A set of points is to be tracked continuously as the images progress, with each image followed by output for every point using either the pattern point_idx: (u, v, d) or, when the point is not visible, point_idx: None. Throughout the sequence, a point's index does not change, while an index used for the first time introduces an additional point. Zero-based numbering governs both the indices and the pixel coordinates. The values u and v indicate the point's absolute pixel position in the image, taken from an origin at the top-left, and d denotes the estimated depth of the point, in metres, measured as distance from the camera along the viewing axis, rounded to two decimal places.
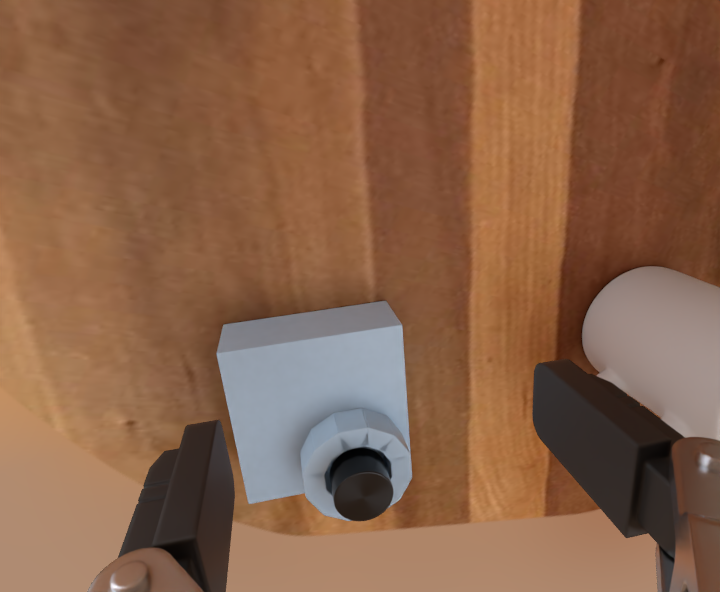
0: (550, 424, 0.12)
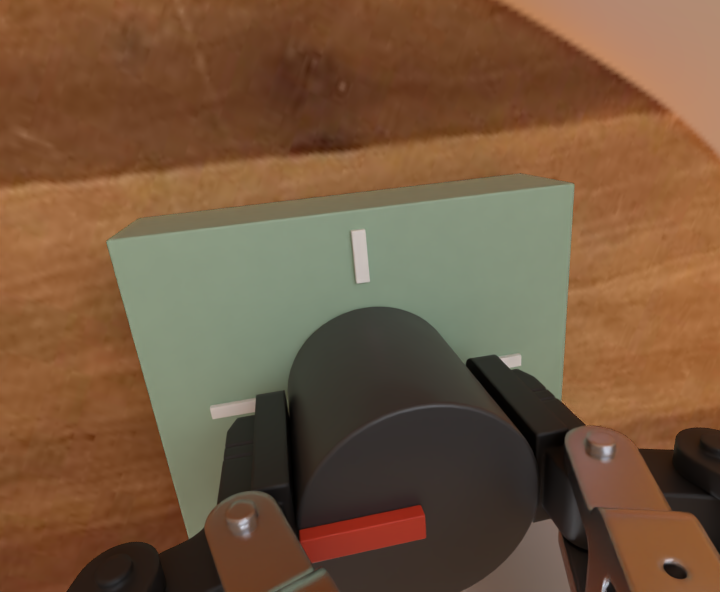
0: None
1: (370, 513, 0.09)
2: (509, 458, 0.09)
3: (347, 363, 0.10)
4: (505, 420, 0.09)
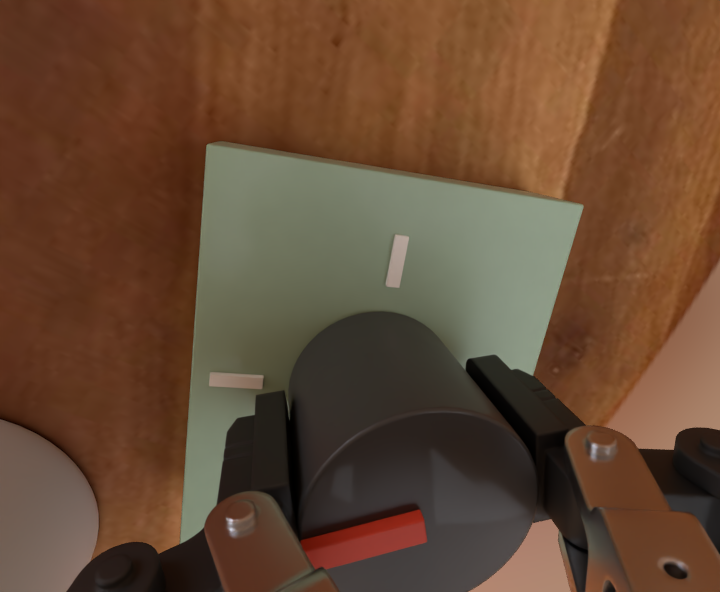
0: None
1: (370, 520, 0.09)
2: (505, 459, 0.09)
3: (342, 371, 0.10)
4: (499, 421, 0.09)
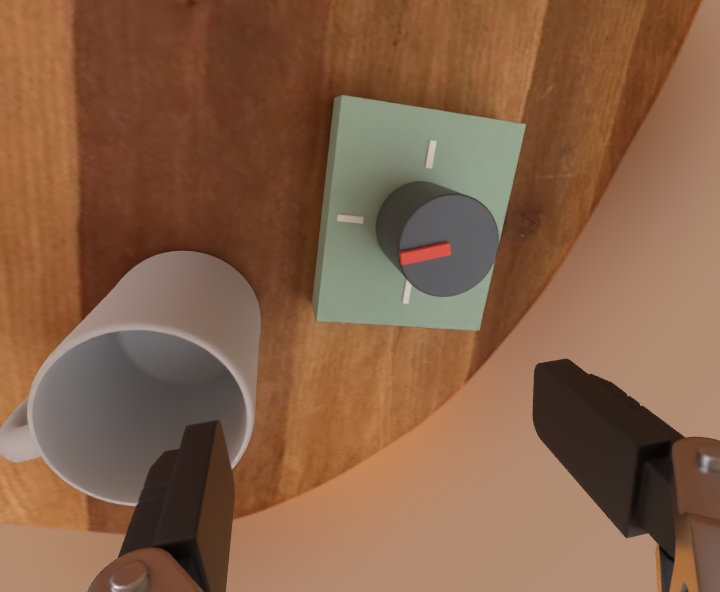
0: (550, 423, 0.12)
1: (427, 246, 0.22)
2: (483, 220, 0.22)
3: (410, 195, 0.23)
4: (480, 202, 0.21)
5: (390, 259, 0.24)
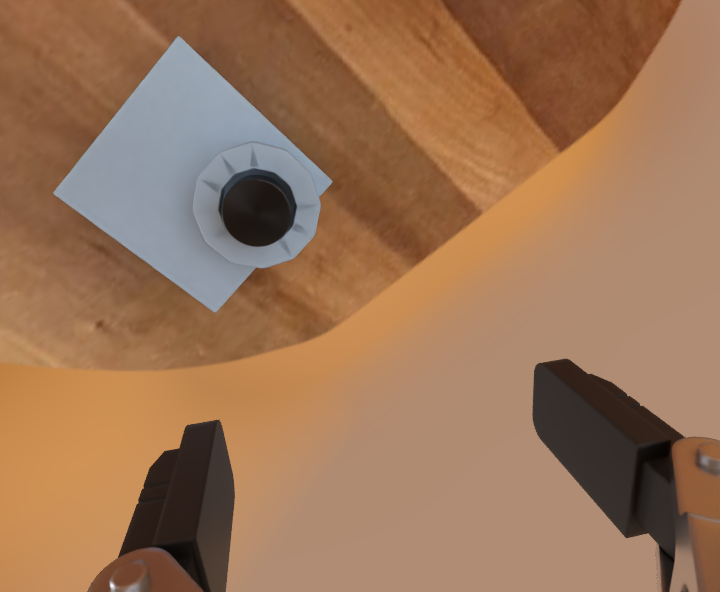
0: (550, 423, 0.12)
1: None
2: None
3: None
4: None
5: None
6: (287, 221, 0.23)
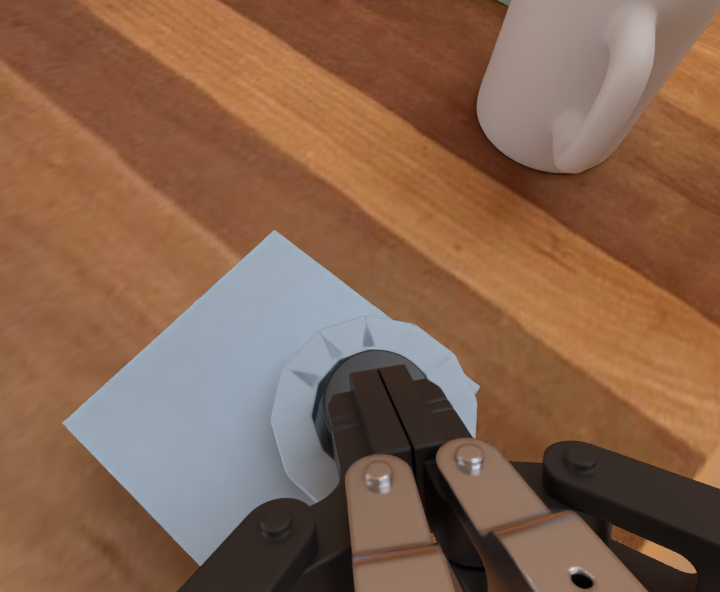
0: None
1: None
2: None
3: None
4: None
5: None
6: None
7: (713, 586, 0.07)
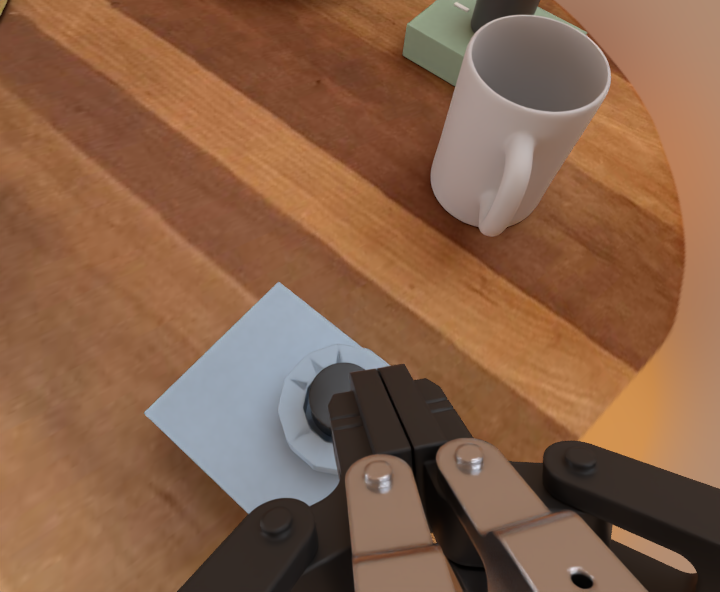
0: None
1: None
2: None
3: None
4: None
5: None
6: None
7: (713, 586, 0.07)
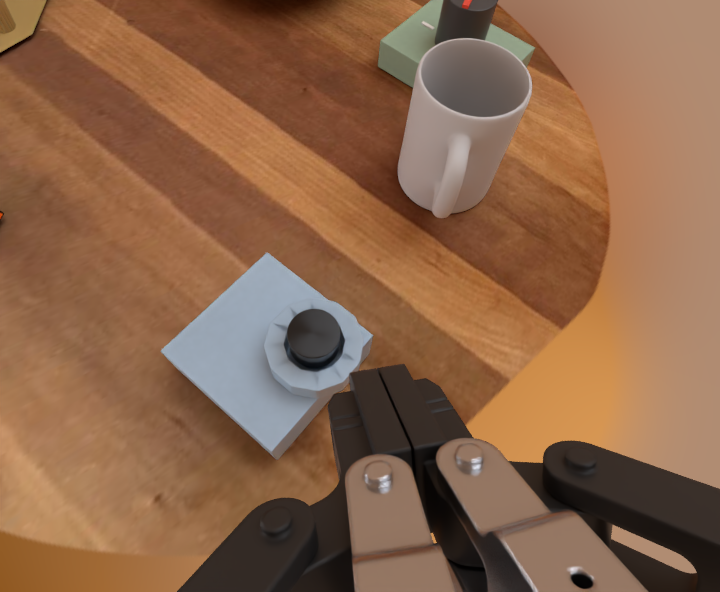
0: None
1: None
2: None
3: (440, 16, 0.45)
4: None
5: (465, 37, 0.45)
6: (337, 337, 0.29)
7: (713, 586, 0.07)
